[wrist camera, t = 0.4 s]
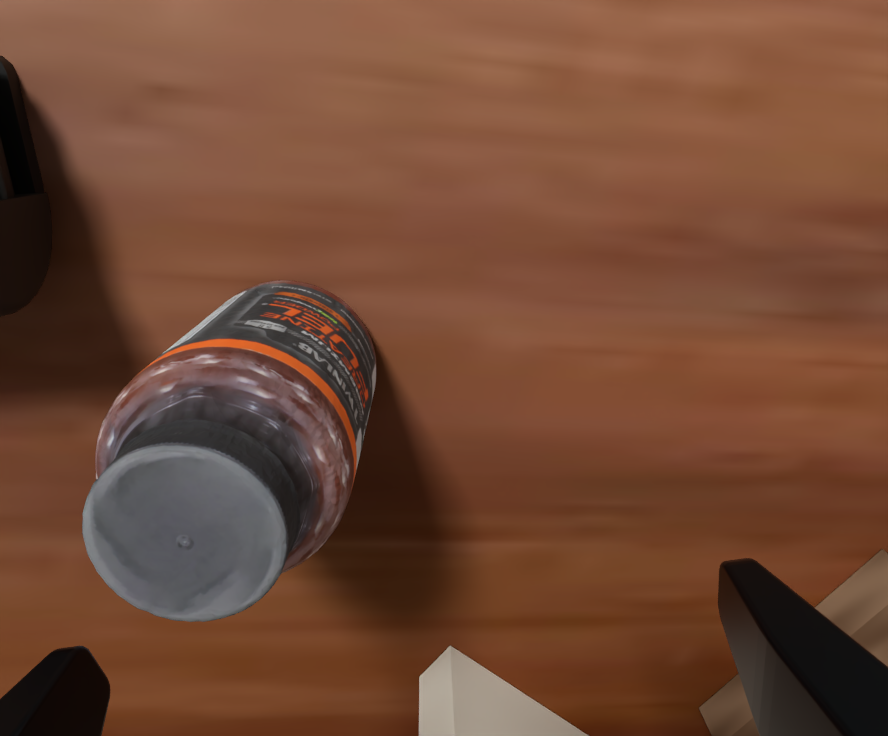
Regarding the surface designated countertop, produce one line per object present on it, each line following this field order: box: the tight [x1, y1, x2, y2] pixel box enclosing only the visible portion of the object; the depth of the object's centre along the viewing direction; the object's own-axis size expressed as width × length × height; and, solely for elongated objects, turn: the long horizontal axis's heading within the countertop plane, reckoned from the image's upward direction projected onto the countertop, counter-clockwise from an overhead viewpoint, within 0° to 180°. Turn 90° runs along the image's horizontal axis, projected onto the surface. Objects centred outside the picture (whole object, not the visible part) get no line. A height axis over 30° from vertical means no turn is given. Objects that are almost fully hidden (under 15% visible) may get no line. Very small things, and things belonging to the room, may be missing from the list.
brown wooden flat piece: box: [699, 549, 888, 736], centre depth 27 cm, size 10×1×4 cm, turn 141°
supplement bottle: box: [82, 280, 377, 622], centre depth 19 cm, size 6×6×11 cm
